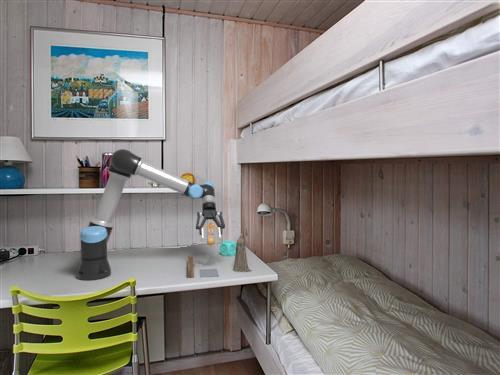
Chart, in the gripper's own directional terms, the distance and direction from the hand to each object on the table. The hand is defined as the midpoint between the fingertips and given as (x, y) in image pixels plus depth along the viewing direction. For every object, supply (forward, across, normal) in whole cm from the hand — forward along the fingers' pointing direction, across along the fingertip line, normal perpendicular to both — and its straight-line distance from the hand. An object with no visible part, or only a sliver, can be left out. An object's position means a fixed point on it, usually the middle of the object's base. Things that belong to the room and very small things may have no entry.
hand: (211, 239), depth 170 cm
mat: (+15, +2, -8) cm, 17 cm away
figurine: (0, 0, -5) cm, 5 cm away
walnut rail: (+9, +10, -14) cm, 20 cm away
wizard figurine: (+13, -16, -10) cm, 23 cm away
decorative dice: (-10, -14, -33) cm, 37 cm away
